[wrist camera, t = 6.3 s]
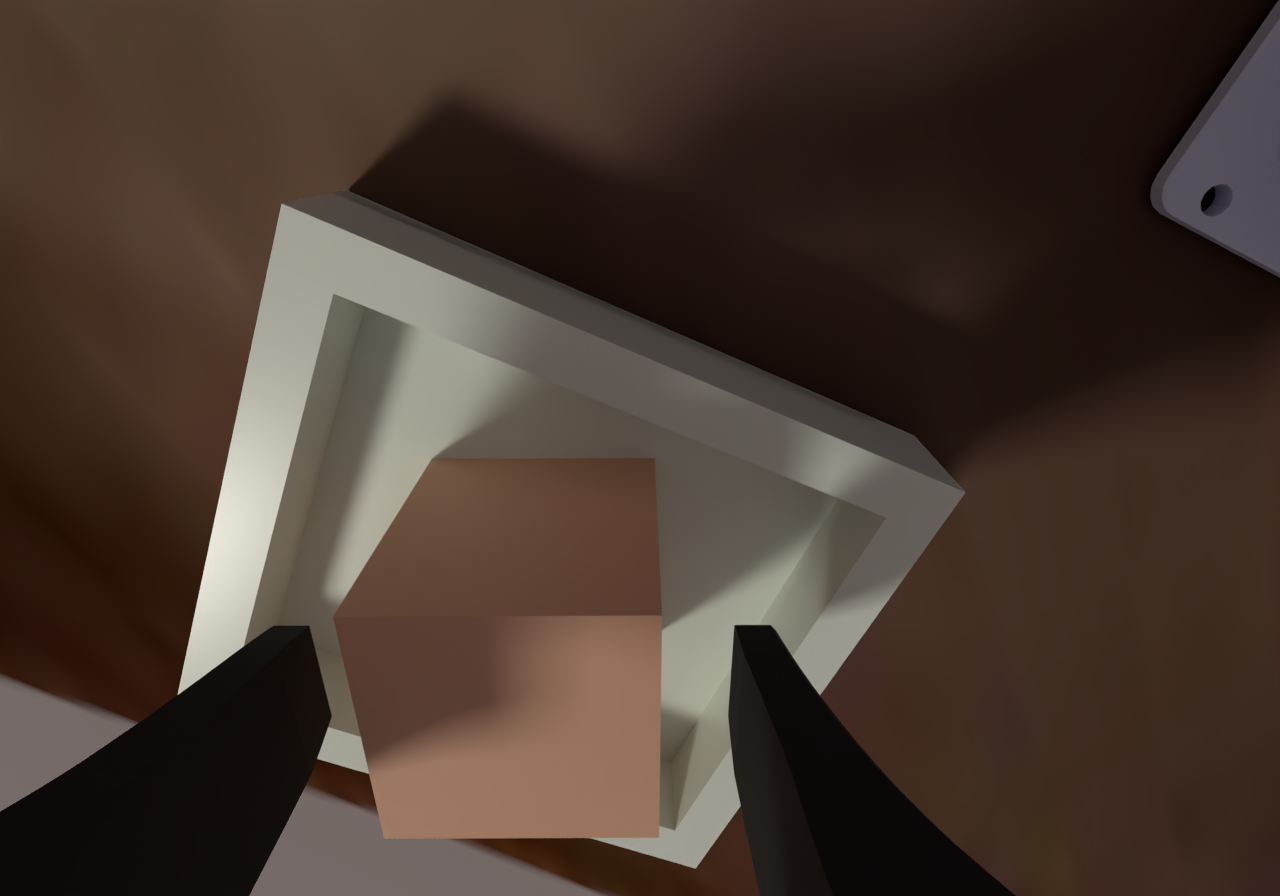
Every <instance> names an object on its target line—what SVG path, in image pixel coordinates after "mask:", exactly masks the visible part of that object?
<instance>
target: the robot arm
mask: <svg viewBox="0 0 1280 896" xmlns="http://www.w3.org/2000/svg"><path fill="white" fill-rule="evenodd" d="M1211 187H1214V188H1215V198H1214V200H1213V203H1212V205H1211V206H1210V207H1208V208H1207V209H1206V210H1205V211H1204V212H1202V211H1201V200H1202V198H1203V196H1204V194H1205V193H1206V192H1207V191H1208V190H1209V189H1210V188H1211ZM1150 199H1151V202H1152V205H1153V208H1154V209H1156V210H1157V211H1158V212H1159V213H1160V214H1161V215H1163V216H1165V217H1167V218H1169V219H1171V220H1173V221H1175V222H1176V223H1178V224H1180V225H1182V226H1184V227H1186V228H1188V229H1190V230H1191V231H1193V232H1195V233H1197V234H1199V235H1201V236H1203V237H1205V238H1206V239H1208V240H1210V241H1212V242H1214V243H1216V244H1218V245H1220V246H1221V247H1223V248H1225V249H1227V250H1229V251H1231V252H1233V253H1235V254H1236V255H1238V256H1240V257H1242V258H1244V259H1246V260H1248V261H1250V262H1251V263H1253V264H1255V265H1257V266H1259V267H1261V268H1263V269H1264V270H1266V271H1268V272H1270V273H1272V274H1274V275H1276V276H1278V277H1279V278H1280V0H1278V2H1277V3H1276V5H1275V6H1274V8H1273V9H1272V10H1271V12H1270V13H1269V15H1268V16H1267V18H1266V19H1265V20H1264V22H1263V23H1262V25H1261V26H1260V28H1259V29H1258V31H1257V32H1256V33H1255V35H1254V36H1253V38H1252V39H1251V41H1250V42H1249V43H1248V45H1247V46H1246V48H1245V49H1244V51H1243V52H1242V53H1241V55H1240V56H1239V58H1238V59H1237V61H1236V62H1235V63H1234V65H1233V66H1232V68H1231V69H1230V71H1229V72H1228V74H1227V75H1226V76H1225V78H1224V79H1223V81H1222V82H1221V84H1220V85H1219V86H1218V88H1217V89H1216V91H1215V92H1214V94H1213V95H1212V96H1211V98H1210V99H1209V101H1208V102H1207V104H1206V105H1205V107H1204V108H1203V109H1202V111H1201V112H1200V114H1199V115H1198V117H1197V118H1196V119H1195V121H1194V122H1193V124H1192V125H1191V127H1190V128H1189V129H1188V131H1187V132H1186V134H1185V135H1184V137H1183V138H1182V139H1181V141H1180V142H1179V144H1178V145H1177V147H1176V148H1175V150H1174V151H1173V152H1172V154H1171V155H1170V157H1169V158H1168V160H1167V161H1166V162H1165V164H1164V165H1163V167H1162V168H1161V170H1160V171H1159V172H1158V174H1157V176H1156V178H1155V180H1154V182H1153V184H1152V186H1151V194H1150ZM331 718H332V714H331V710H330V706H329V702H328V698H327V694H326V690H325V686H324V682H323V678H322V674H321V670H320V666H319V662H318V658H317V654H316V650H315V646H314V642H313V638H312V634H311V630H310V626H272V627H271V628H269V629H268V630H266V631H265V632H263V633H262V634H260V635H259V636H257V637H256V638H255V639H253V640H252V641H250V642H249V643H248V644H246V645H245V646H244V647H242V648H241V649H239V650H238V651H237V652H235V653H234V654H233V655H231V656H230V657H229V658H227V659H226V660H225V661H223V662H222V663H221V664H219V665H218V666H216V667H215V668H214V669H212V670H211V671H210V672H208V673H207V674H206V675H204V676H203V677H202V678H200V679H199V680H198V681H196V682H195V683H193V684H192V685H191V686H189V687H188V688H187V689H185V690H184V691H183V692H181V693H180V694H178V695H177V696H176V697H174V698H173V699H172V700H170V701H169V702H168V703H166V704H165V705H163V706H162V707H161V708H159V709H158V710H157V711H155V712H154V713H152V714H151V715H150V716H148V717H147V718H145V719H144V720H142V721H141V722H139V723H138V724H136V725H135V726H133V727H132V728H131V729H129V730H128V731H126V732H125V733H123V734H122V735H120V736H119V737H117V738H116V739H114V740H113V741H112V742H110V743H109V744H107V745H106V746H104V747H103V748H102V749H100V750H98V751H97V752H95V753H94V754H93V755H91V756H90V757H88V758H87V759H85V760H84V761H82V762H81V763H79V764H77V765H76V766H75V767H73V768H71V769H70V770H68V771H67V772H65V773H64V774H62V775H60V776H59V777H57V778H55V779H54V780H52V781H51V782H49V783H47V784H46V785H44V786H43V787H41V788H39V789H38V790H36V791H34V792H32V793H31V794H29V795H27V796H26V797H24V798H22V799H21V800H19V801H17V802H16V803H14V804H12V805H11V806H9V807H7V808H6V809H4V810H2V811H1V812H0V896H249V895H250V893H251V891H252V889H253V887H254V885H255V883H256V881H257V879H258V878H259V876H260V874H261V872H262V870H263V868H264V866H265V864H266V862H267V860H268V858H269V856H270V854H271V852H272V850H273V849H274V846H275V845H276V843H277V841H278V839H279V837H280V835H281V833H282V831H283V829H284V827H285V825H286V823H287V821H288V819H289V817H290V815H291V813H292V812H293V810H294V807H295V806H296V804H297V802H298V799H299V797H300V796H301V794H302V792H303V790H304V788H305V786H306V784H307V782H308V780H309V778H310V776H311V773H312V770H313V768H314V765H315V763H316V760H317V757H318V755H319V752H320V749H321V747H322V744H323V741H324V738H325V735H326V732H327V729H328V726H329V723H330V721H331ZM728 720H729V730H730V740H731V750H732V759H733V768H734V776H735V781H736V785H737V790H738V795H739V800H740V804H741V809H742V814H743V819H744V823H745V828H746V833H747V837H748V842H749V846H750V851H751V856H752V860H753V865H754V870H755V874H756V879H757V883H758V888H759V893H760V896H1015V895H1014V894H1013V893H1012V892H1010V891H1009V890H1008V889H1007V888H1006V887H1005V886H1003V885H1002V884H1001V883H1000V882H999V881H998V880H996V879H995V878H994V877H993V876H992V875H991V874H989V873H988V872H987V871H986V870H985V869H984V868H982V867H981V866H980V865H979V864H978V863H976V862H975V861H974V860H973V859H972V858H971V857H969V856H968V855H967V854H966V853H965V852H964V851H962V850H961V849H960V848H959V847H958V846H957V845H955V844H954V843H953V842H952V841H951V840H950V839H949V838H948V837H947V836H946V835H945V834H944V833H943V832H942V831H941V830H939V829H938V828H937V827H936V826H935V825H934V824H933V823H932V822H931V821H930V820H929V819H928V818H927V817H926V816H925V815H924V814H923V813H922V812H921V811H920V810H919V809H918V808H917V807H916V806H915V805H914V804H913V803H912V802H911V801H910V800H909V799H908V798H907V797H906V796H905V795H904V794H903V793H902V792H901V791H900V790H899V789H898V788H897V787H896V786H895V785H894V784H893V783H892V781H891V780H890V779H889V778H888V777H887V776H886V775H885V774H884V773H883V772H882V771H881V769H880V768H879V767H878V766H877V765H876V764H875V763H874V762H873V760H872V759H871V758H870V757H869V756H868V755H867V753H866V752H865V751H864V750H863V749H862V748H861V747H860V745H859V744H858V743H857V742H856V741H855V739H854V738H853V737H852V736H851V735H850V733H849V732H848V731H847V730H846V728H845V727H844V726H843V725H842V723H841V722H840V721H839V720H838V718H837V717H836V716H835V714H834V713H833V712H832V711H831V709H830V708H829V707H828V705H827V704H826V703H825V701H824V700H823V699H822V698H821V696H820V695H819V694H818V692H817V691H816V689H815V688H814V687H813V685H812V684H811V683H810V681H809V680H808V678H807V677H806V675H805V674H804V673H803V671H802V670H801V668H800V667H799V665H798V664H797V662H796V661H795V659H794V658H793V656H792V655H791V653H790V652H789V650H788V649H787V647H786V646H785V644H784V642H783V641H782V639H781V638H780V636H779V634H778V633H777V631H776V630H775V629H774V628H773V627H772V626H771V625H734V637H733V652H732V666H731V681H730V695H729V710H728Z"/></svg>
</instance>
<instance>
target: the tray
mask: <svg viewBox="0 0 1280 896" xmlns="http://www.w3.org/2000/svg"><path fill="white" fill-rule="evenodd" d="M531 458H654V460H655V480H656V500H657V521H658V541H659V562H660V582H661V603H662V662H661V737H660V811H659V838H592V839H596V840H599V841H603V842H606V843H610V844H613V845H616V846H620V847H623V848H627V849H630V850H634V851H637V852H641V853H644V854H648V855H651V856H654V857H658V858H661V859H665V860H668V861H672V862H675V863H679V864H682V865H685V866H689V867H692V868H696V867H697V866H698V864H699V863H700V862H701V860H702V859H703V857H704V856H705V855H706V853H707V852H708V850H709V849H710V848H711V846H712V845H713V843H714V842H715V841H716V839H717V838H718V836H719V835H720V834H721V832H722V831H723V830H724V828H725V827H726V825H727V824H728V823H729V821H730V820H731V818H732V817H733V816H734V814H735V813H736V811H737V810H738V809H739V807H740V806H741V804H740V800H739V795H738V790H737V785H736V781H735V776H734V768H733V759H732V750H731V740H730V730H729V720H728V710H729V695H730V681H731V666H732V652H733V637H734V625H771V626H772V627H773V628H774V629H775V630H776V631H777V633H778V634H779V636H780V638H781V639H782V641H783V642H784V644H785V646H786V647H787V649H788V650H789V652H790V653H791V655H792V656H793V658H794V659H795V661H796V662H797V664H798V665H799V667H800V668H801V670H802V671H803V673H804V674H805V675H806V677H807V678H808V680H809V681H810V683H811V684H812V685H813V687H814V688H815V689H816V691H817V692H818V694H819V695H820V694H821V693H822V692H823V690H824V689H825V687H826V686H827V685H828V683H829V682H830V680H831V679H832V678H833V676H834V675H835V674H836V672H837V671H838V669H839V668H840V667H841V665H842V664H843V662H844V661H845V660H846V658H847V657H848V655H849V654H850V653H851V651H852V650H853V648H854V647H855V646H856V644H857V643H858V641H859V640H860V639H861V637H862V636H863V635H864V633H865V632H866V630H867V629H868V628H869V626H870V625H871V623H872V622H873V621H874V619H875V618H876V616H877V615H878V614H879V612H880V611H881V609H882V608H883V607H884V605H885V604H886V602H887V601H888V600H889V598H890V597H891V595H892V594H893V593H894V591H895V590H896V589H897V587H898V586H899V584H900V583H901V582H902V580H903V579H904V577H905V576H906V575H907V573H908V572H909V570H910V569H911V568H912V566H913V565H914V563H915V562H916V561H917V559H918V558H919V556H920V555H921V554H922V552H923V551H924V550H925V548H926V547H927V545H928V544H929V543H930V541H931V540H932V538H933V537H934V536H935V534H936V533H937V531H938V530H939V529H940V527H941V526H942V524H943V523H944V522H945V520H946V519H947V517H948V516H949V515H950V513H951V512H952V511H953V509H954V508H955V506H956V505H957V504H958V502H959V501H960V499H961V498H962V497H963V495H964V494H965V491H964V490H963V489H962V488H961V487H960V486H959V485H958V483H957V482H956V481H955V480H954V479H953V478H952V477H951V476H950V475H949V473H948V472H947V471H946V470H945V469H944V468H943V467H942V466H941V465H940V464H939V462H938V461H937V460H936V459H935V458H934V457H933V456H932V455H931V454H930V452H929V451H928V450H927V449H926V448H925V447H924V446H923V445H922V444H921V442H920V441H919V440H918V439H917V438H916V437H915V436H914V435H912V434H910V433H907V432H905V431H903V430H900V429H898V428H896V427H894V426H891V425H889V424H887V423H884V422H882V421H880V420H877V419H875V418H873V417H870V416H868V415H866V414H863V413H861V412H859V411H857V410H854V409H852V408H850V407H847V406H845V405H843V404H840V403H838V402H836V401H833V400H831V399H829V398H826V397H824V396H822V395H820V394H817V393H815V392H813V391H810V390H808V389H806V388H803V387H801V386H799V385H796V384H794V383H792V382H789V381H787V380H785V379H783V378H780V377H778V376H776V375H773V374H771V373H769V372H766V371H764V370H762V369H759V368H757V367H755V366H752V365H750V364H748V363H746V362H743V361H741V360H739V359H736V358H734V357H732V356H729V355H727V354H725V353H722V352H720V351H718V350H715V349H713V348H711V347H709V346H706V345H704V344H702V343H699V342H697V341H695V340H692V339H690V338H688V337H685V336H683V335H681V334H678V333H676V332H674V331H672V330H669V329H667V328H665V327H662V326H660V325H658V324H655V323H653V322H651V321H648V320H646V319H644V318H641V317H639V316H637V315H635V314H632V313H630V312H628V311H625V310H623V309H621V308H618V307H616V306H614V305H611V304H609V303H607V302H604V301H602V300H600V299H598V298H595V297H593V296H591V295H588V294H586V293H584V292H581V291H579V290H577V289H574V288H572V287H570V286H567V285H565V284H563V283H561V282H558V281H556V280H554V279H551V278H549V277H547V276H544V275H542V274H540V273H537V272H535V271H533V270H530V269H528V268H526V267H524V266H521V265H519V264H517V263H514V262H512V261H510V260H507V259H505V258H503V257H500V256H498V255H496V254H493V253H491V252H489V251H487V250H484V249H482V248H480V247H477V246H475V245H473V244H470V243H468V242H466V241H463V240H461V239H459V238H456V237H454V236H452V235H450V234H447V233H445V232H443V231H440V230H438V229H436V228H433V227H431V226H429V225H426V224H424V223H422V222H419V221H417V220H415V219H413V218H410V217H408V216H406V215H403V214H401V213H399V212H396V211H394V210H392V209H389V208H387V207H385V206H382V205H380V204H378V203H376V202H373V201H371V200H369V199H366V198H364V197H362V196H359V195H357V194H355V193H352V192H350V191H348V190H345V191H340V192H335V193H330V194H325V195H321V196H316V197H311V198H306V199H301V200H297V201H292V202H287V203H282V205H281V209H280V214H279V219H278V223H277V228H276V233H275V238H274V242H273V247H272V252H271V256H270V261H269V266H268V271H267V275H266V280H265V285H264V290H263V294H262V299H261V304H260V308H259V313H258V318H257V323H256V327H255V332H254V337H253V341H252V346H251V351H250V356H249V360H248V365H247V370H246V375H245V379H244V384H243V389H242V393H241V398H240V403H239V408H238V412H237V417H236V422H235V426H234V431H233V436H232V441H231V445H230V450H229V455H228V460H227V464H226V469H225V474H224V478H223V483H222V488H221V493H220V497H219V502H218V507H217V511H216V516H215V521H214V526H213V530H212V535H211V540H210V545H209V549H208V554H207V559H206V563H205V568H204V573H203V578H202V582H201V587H200V592H199V596H198V601H197V606H196V611H195V615H194V620H193V625H192V630H191V634H190V639H189V644H188V648H187V653H186V658H185V663H184V667H183V672H182V677H181V681H180V686H179V691H178V694H180V693H181V692H183V691H184V690H185V689H187V688H188V687H189V686H191V685H192V684H193V683H195V682H196V681H198V680H199V679H200V678H202V677H203V676H204V675H206V674H207V673H208V672H210V671H211V670H212V669H214V668H215V667H216V666H218V665H219V664H221V663H222V662H223V661H225V660H226V659H227V658H229V657H230V656H231V655H233V654H234V653H235V652H237V651H238V650H239V649H241V648H242V647H244V646H245V645H246V644H248V643H249V642H250V641H252V640H253V639H255V638H256V637H257V636H259V635H260V634H262V633H263V632H265V631H266V630H268V629H269V628H271V627H272V626H310V630H311V634H312V638H313V642H314V646H315V650H316V654H317V658H318V662H319V666H320V670H321V674H322V678H323V682H324V686H325V690H326V694H327V698H328V702H329V706H330V710H331V714H332V718H331V721H330V723H329V726H328V729H327V732H326V735H325V738H324V741H323V744H322V747H321V749H320V752H319V755H318V757H317V759H320V760H323V761H327V762H330V763H334V764H337V765H341V766H344V767H347V768H351V769H354V770H358V771H361V772H365V773H368V774H369V771H368V766H367V762H366V758H365V753H364V749H363V745H362V740H361V736H360V732H359V727H358V723H357V719H356V714H355V710H354V706H353V701H352V697H351V693H350V689H349V684H348V680H347V676H346V671H345V667H344V663H343V658H342V654H341V650H340V645H339V641H338V637H337V632H336V628H335V624H334V619H333V616H334V614H335V612H336V611H337V609H338V608H339V606H340V604H341V603H342V601H343V600H344V598H345V596H346V595H347V593H348V592H349V590H350V588H351V587H352V585H353V584H354V582H355V580H356V579H357V577H358V576H359V574H360V573H361V571H362V569H363V568H364V566H365V565H366V563H367V561H368V560H369V558H370V557H371V555H372V553H373V552H374V550H375V549H376V547H377V545H378V544H379V542H380V541H381V539H382V537H383V536H384V534H385V533H386V531H387V529H388V528H389V526H390V525H391V523H392V521H393V520H394V518H395V517H396V515H397V513H398V512H399V510H400V509H401V507H402V506H403V504H404V502H405V501H406V499H407V498H408V496H409V494H410V493H411V491H412V490H413V488H414V486H415V485H416V483H417V482H418V480H419V478H420V477H421V475H422V474H423V472H424V470H425V469H426V467H427V466H428V464H429V462H430V461H431V459H531Z"/></svg>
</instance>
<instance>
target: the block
mask: <svg viewBox="0 0 1280 896" xmlns="http://www.w3.org/2000/svg"><path fill="white" fill-rule="evenodd" d="M333 619H334V624H335V628H336V632H337V637H338V641H339V645H340V650H341V654H342V658H343V663H344V667H345V671H346V676H347V680H348V684H349V689H350V693H351V697H352V701H353V706H354V710H355V714H356V719H357V723H358V727H359V732H360V736H361V740H362V745H363V749H364V753H365V758H366V762H367V766H368V771H369V775H370V779H371V784H372V788H373V792H374V796H375V801H376V805H377V809H378V814H379V818H380V822H381V827H382V831H383V835H384V839H386V838H387V839H391V838H393V839H396V838H397V839H403V838H404V839H405V838H408V839H412V838H659V811H660V737H661V662H662V603H661V582H660V562H659V541H658V521H657V500H656V480H655V460H654V458H531V459H431V461H430V462H429V464H428V466H427V467H426V469H425V470H424V472H423V474H422V475H421V477H420V478H419V480H418V482H417V483H416V485H415V486H414V488H413V490H412V491H411V493H410V494H409V496H408V498H407V499H406V501H405V502H404V504H403V506H402V507H401V509H400V510H399V512H398V513H397V515H396V517H395V518H394V520H393V521H392V523H391V525H390V526H389V528H388V529H387V531H386V533H385V534H384V536H383V537H382V539H381V541H380V542H379V544H378V545H377V547H376V549H375V550H374V552H373V553H372V555H371V557H370V558H369V560H368V561H367V563H366V565H365V566H364V568H363V569H362V571H361V573H360V574H359V576H358V577H357V579H356V580H355V582H354V584H353V585H352V587H351V588H350V590H349V592H348V593H347V595H346V596H345V598H344V600H343V601H342V603H341V604H340V606H339V608H338V609H337V611H336V612H335V614H334V616H333Z"/></svg>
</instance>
